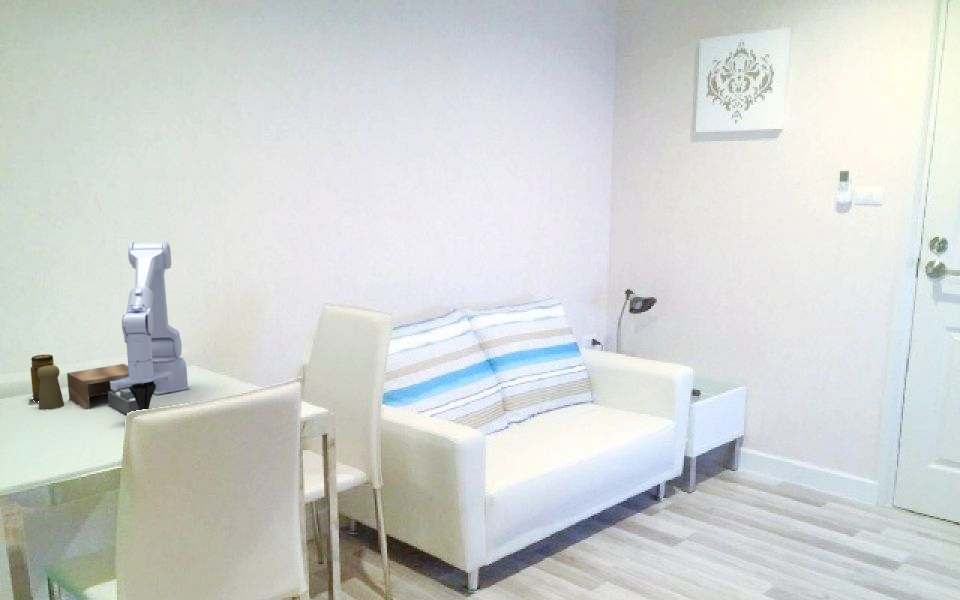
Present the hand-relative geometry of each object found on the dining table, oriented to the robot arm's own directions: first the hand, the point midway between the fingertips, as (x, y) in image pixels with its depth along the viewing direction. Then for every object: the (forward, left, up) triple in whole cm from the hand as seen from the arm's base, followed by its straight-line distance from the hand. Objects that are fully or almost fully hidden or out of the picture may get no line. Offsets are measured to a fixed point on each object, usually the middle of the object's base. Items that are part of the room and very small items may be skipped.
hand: (144, 412), depth 196 cm
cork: (+13, -29, -2) cm, 32 cm away
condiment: (+12, -38, -2) cm, 40 cm away
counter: (0, -26, -2) cm, 26 cm away
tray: (0, -11, -2) cm, 11 cm away
